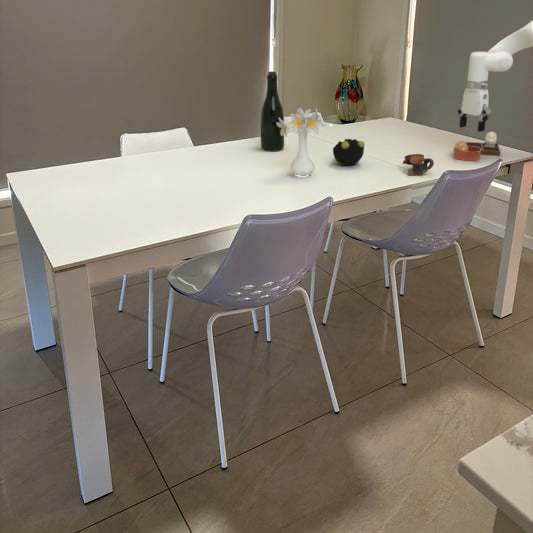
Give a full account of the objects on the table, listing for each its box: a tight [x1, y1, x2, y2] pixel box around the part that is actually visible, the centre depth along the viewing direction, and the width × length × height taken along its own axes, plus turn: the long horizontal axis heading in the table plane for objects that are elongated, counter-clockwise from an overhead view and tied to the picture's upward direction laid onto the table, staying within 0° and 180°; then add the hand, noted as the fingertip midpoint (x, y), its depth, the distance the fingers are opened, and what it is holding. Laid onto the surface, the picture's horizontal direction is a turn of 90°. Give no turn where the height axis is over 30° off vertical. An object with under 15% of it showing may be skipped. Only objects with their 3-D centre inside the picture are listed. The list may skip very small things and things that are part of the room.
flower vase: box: [276, 107, 326, 179], centre depth 218 cm, size 13×18×25 cm
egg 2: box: [484, 131, 498, 147], centre depth 254 cm, size 5×5×8 cm
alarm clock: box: [332, 138, 366, 166], centre depth 236 cm, size 12×15×15 cm
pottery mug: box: [402, 153, 435, 176], centre depth 226 cm, size 12×10×8 cm
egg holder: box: [465, 141, 501, 157], centre depth 253 cm, size 14×14×2 cm
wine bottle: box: [260, 70, 285, 152], centre depth 255 cm, size 10×10×33 cm
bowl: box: [452, 146, 482, 162], centre depth 242 cm, size 11×11×4 cm
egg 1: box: [454, 140, 470, 152], centre depth 242 cm, size 5×5×8 cm
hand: (471, 129), depth 238 cm, fingers open, 9 cm apart
